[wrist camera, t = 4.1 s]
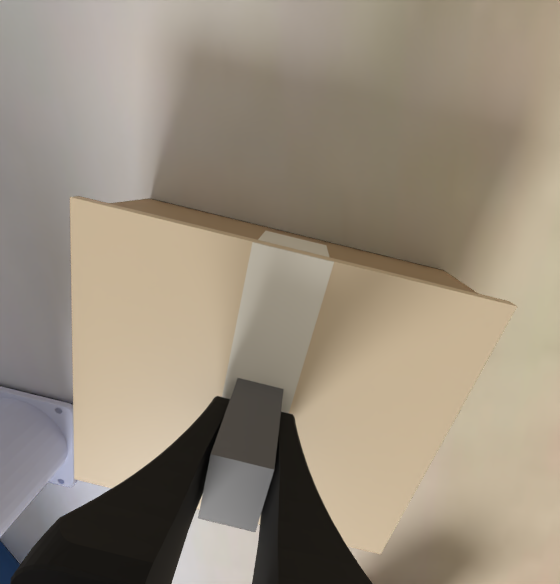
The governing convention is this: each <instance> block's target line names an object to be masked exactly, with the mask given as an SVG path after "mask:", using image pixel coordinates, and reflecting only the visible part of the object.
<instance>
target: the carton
mask: <svg viewBox="0 0 560 584" xmlns="http://www.w3.org/2000/svg"><path fill="white" fill-rule="evenodd" d="M109 204H113V205H117V206H121V207H125V208H129V209H134V210H138V211H142V212H146V213H150V214H154V215H158V216H162V217H166V218H170V219H174V220H179V221H183V222H187V223H191V224H195V225H199V226H203V227H207V228H211V229H215V230H219V231H224V232H228V233H232V234H236V235H240V236H244V237H248V238H252V239H256V240H260V241H264V242H268V243H273V244H277V245H281V246H285V247H289V248H293V249H297V250H301V251H305V252H309V253H313V254H318V255H322V256H326V257H330V258H334V259H338V260H342V261H346V262H350V263H354V264H358V265H363V266H367V267H371V268H375V269H379V270H383V271H387V272H391V273H395V274H399V275H403V276H408V277H412V278H416V279H420V280H424V281H428V282H432V283H436V284H440V285H444V286H448V287H453V288H457V289H461V290H465V291H469V292H473V293H477V292H475V291H474V290H472V289H471V288H469V287H468V286H466V285H465V284H463V283H462V282H460V281H459V280H457V279H456V278H454V277H453V276H451V275H450V274H448V273H447V272H445V271H444V270H440V269H436V268H432V267H428V266H424V265H420V264H416V263H412V262H407V261H403V260H399V259H395V258H391V257H387V256H383V255H379V254H375V253H371V252H367V251H363V250H358V249H354V248H350V247H346V246H342V245H338V244H334V243H330V242H326V241H322V240H318V239H313V238H309V237H305V236H301V235H297V234H293V233H289V232H285V231H281V230H277V229H273V228H268V227H264V226H260V225H256V224H252V223H248V222H244V221H240V220H236V219H232V218H228V217H223V216H219V215H215V214H211V213H207V212H203V211H199V210H195V209H191V208H187V207H183V206H178V205H174V204H170V203H166V202H162V201H158V200H154V199H142V200H134V201H126V202H117V203H109ZM477 294H478V293H477Z"/></svg>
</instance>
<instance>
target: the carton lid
mask: <svg viewBox="0 0 560 584" xmlns="http://www.w3.org/2000/svg"><path fill="white" fill-rule="evenodd" d="M70 238H71V300H72V362H73V423H74V479H76V480H80V481H84V482H88V483H92V484H96V485H100V486H104V487H108V488H113V487H115V486H117V485H118V484H120V483H121V482H123V481H124V480H126V479H127V478H129V477H130V476H132V475H133V474H135V473H136V472H137V471H139V470H140V469H142V468H143V467H144V466H146V465H147V464H148V463H150V462H151V461H152V460H153V459H155V458H156V457H157V456H158V455H160V454H161V453H162V452H163V451H164V450H166V449H167V448H168V447H169V446H170V445H171V444H172V443H173V442H175V441H176V440H177V439H178V438H179V437H180V436H181V435H182V434H183V433H184V432H185V431H186V430H187V429H188V428H189V427H190V426H191V425H192V424H193V423H194V422H195V421H196V420H197V419H198V417H199V416H200V415H201V414H202V413H203V412H204V411H205V409H206V408H207V407H208V406H209V404H210V403H211V402H212V400H213V399H214V397H216V396H220V397H224V398H228V399H230V401H229V404H228V407H227V409H226V412H225V415H224V418H223V421H222V423H221V426H220V429H219V432H218V435H217V438H216V440H215V443H214V446H213V449H212V452H211V455H210V460H209V465H208V470H207V475H206V480H205V485H204V490H203V494H202V497H201V499H200V502H199V504H198V507H197V509H198V510H199V516H198V518H199V519H203V520H207V521H211V522H215V523H219V524H224V525H228V526H232V527H236V528H240V529H244V530H248V531H252V532H255V531H256V528H257V525H258V524H259V525H260V518H261V512H262V508H263V505H264V502H265V499H266V495H267V492H268V489H269V485H270V482H271V479H272V476H273V472H274V468H275V459H276V451H277V442H278V434H279V425H280V416H281V412H285V413H290V414H293V415H294V417H295V422H296V427H297V432H298V436H299V439H300V443H301V447H302V450H303V453H304V456H305V459H306V462H307V465H308V468H309V470H310V473H311V476H312V478H313V481H314V483H315V486H316V488H317V490H318V493H319V495H320V497H321V499H322V501H323V503H324V505H325V507H326V509H327V511H328V513H329V515H330V517H331V519H332V521H333V523H334V525H335V526H336V528H337V530H338V531H339V533H340V535H341V537H342V538H343V540H344V542H345V543H346V545H347V546H349V547H353V548H357V549H361V550H365V551H369V552H373V553H377V554H381V553H382V551H383V550H384V548H385V546H386V544H387V542H388V541H389V539H390V537H391V535H392V533H393V531H394V530H395V528H396V526H397V524H398V522H399V521H400V519H401V517H402V515H403V513H404V511H405V510H406V508H407V506H408V504H409V502H410V501H411V499H412V497H413V495H414V493H415V491H416V490H417V488H418V486H419V484H420V482H421V481H422V479H423V477H424V475H425V473H426V471H427V470H428V468H429V466H430V464H431V462H432V461H433V459H434V457H435V455H436V453H437V451H438V450H439V448H440V446H441V444H442V442H443V441H444V439H445V437H446V435H447V433H448V432H449V430H450V428H451V426H452V424H453V422H454V421H455V419H456V417H457V415H458V413H459V412H460V410H461V408H462V406H463V404H464V402H465V401H466V399H467V397H468V395H469V393H470V392H471V390H472V388H473V386H474V384H475V382H476V381H477V379H478V377H479V375H480V373H481V372H482V370H483V368H484V366H485V364H486V362H487V361H488V359H489V357H490V355H491V353H492V352H493V350H494V348H495V346H496V344H497V342H498V341H499V339H500V337H501V335H502V333H503V332H504V330H505V328H506V326H507V324H508V323H509V321H510V319H511V317H512V315H513V313H514V312H515V310H516V308H517V306H516V305H514V304H513V303H511V302H509V301H506V300H502V299H497V298H493V297H489V296H485V295H481V294H477V293H473V292H469V291H465V290H461V289H457V288H453V287H448V286H444V285H440V284H436V283H432V282H428V281H424V280H420V279H416V278H412V277H408V276H403V275H399V274H395V273H391V272H387V271H383V270H379V269H375V268H371V267H367V266H363V265H358V264H354V263H350V262H346V261H342V260H338V259H334V258H330V257H326V256H322V255H318V254H313V253H309V252H305V251H301V250H297V249H293V248H289V247H285V246H281V245H277V244H273V243H268V242H264V241H260V240H256V239H252V238H248V237H244V236H240V235H236V234H232V233H228V232H224V231H219V230H215V229H211V228H207V227H203V226H199V225H195V224H191V223H187V222H183V221H179V220H174V219H170V218H166V217H162V216H158V215H154V214H150V213H146V212H142V211H138V210H134V209H129V208H125V207H121V206H117V205H113V204H109V203H105V202H101V201H97V200H93V199H89V198H84V197H80V196H76V197H70Z"/></svg>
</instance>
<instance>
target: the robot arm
mask: <svg viewBox="0 0 560 584" xmlns="http://www.w3.org/2000/svg"><path fill="white" fill-rule="evenodd" d="M229 401H230V399H228V398H224V397H220V396H216V397H214V399H213V400H212V402H211V403H210V404H209V406H208V407H207V408H206V409H205V411H204V412H203V413H202V414H201V415H200V416H199V417H198V419H197V420H196V421H195V422H194V423H193V424H192V425H191V426H190V427H189V428H188V429H187V430H186V431H185V432H184V433H183V434H182V435H181V436H180V437H179V438H178V439H177V440H176V441H175V442H173V443H172V444H171V445H170V446H169V447H168V448H167V449H166V450H164V451H163V452H162V453H161V454H160V455H158V456H157V457H156V458H155V459H153V460H152V461H151V462H150V463H148V464H147V465H146V466H144V467H143V468H142V469H140V470H139V471H137V472H136V473H135V474H133V475H132V476H130V477H129V478H127V479H126V480H124V481H123V482H121V483H120V484H118V485H117V486H115V487H113V488H112V489H110V490H109V491H107V492H105V493H104V494H102V495H101V496H99V497H97V498H95V499H94V500H92V501H90V502H88V503H86V504H84V505H83V506H81V507H79V508H77V509H75V510H73V511H71V512H70V513H68V514H66V515H64V516H62V517H60V518H59V519H58V520H57V521H56V522H55V523H54V524H53V525H52V526H51V527H50V528H49V530H48V531H47V532H46V533H45V534H44V535H43V536H42V537H41V539H40V540H39V541H38V542H37V543H36V544H35V546H34V547H33V548H32V549H31V551H30V552H29V554H28V555H27V556H26V558H25V559H24V560H23V562H22V563H21V565H20V566H19V567H18V569H17V570H16V571H15V573H14V574H13V576H12V577H11V582H10V584H171V583H172V580H173V577H174V573H175V570H176V567H177V564H178V561H179V558H180V555H181V551H182V548H183V545H184V542H185V539H186V536H187V533H188V530H189V527H190V524H191V522H192V519H193V516H194V514H195V511H196V509H197V507H198V504H199V502H200V499H201V497H202V494H203V490H204V485H205V480H206V475H207V470H208V465H209V460H210V455H211V452H212V449H213V446H214V443H215V440H216V438H217V435H218V432H219V429H220V426H221V423H222V421H223V418H224V415H225V412H226V409H227V407H228V404H229ZM48 482H49V483H53V484H57V485H62V486H66V487H72V486H74V484H75V483H76V482H77V480H76V479H74V423H73V405H72V404H70V403H66V402H62V401H58V400H54V399H50V398H46V397H42V396H38V395H33V394H29V393H25V392H21V391H17V390H13V389H9V388H5V387H1V386H0V537H1V536H2V535H3V534H4V533H5V532H6V530H7V529H8V528H9V527H10V526H11V525H12V523H13V522H14V521H15V520H16V519H17V518H18V516H19V515H20V514H21V513H22V512H23V511H24V509H25V508H26V507H27V506H28V505H29V504H30V502H31V501H32V500H33V499H34V498H35V497H36V495H37V494H38V493H39V492H40V491H41V490H42V488H43V487H44V486H45V485H46V484H47V483H48ZM252 584H372V582H371V581H370V580H369V578H368V577H367V576H366V574H365V573H364V571H363V570H362V569H361V567H360V566H359V564H358V563H357V561H356V559H355V558H354V556H353V555H352V553H351V552H350V550H349V549H348V547H347V545H346V543H345V542H344V540H343V538H342V537H341V535H340V533H339V531H338V530H337V528H336V526H335V525H334V523H333V521H332V519H331V517H330V515H329V513H328V511H327V509H326V507H325V505H324V503H323V501H322V499H321V497H320V495H319V493H318V490H317V488H316V486H315V483H314V481H313V478H312V476H311V473H310V470H309V468H308V465H307V462H306V459H305V456H304V453H303V450H302V447H301V443H300V439H299V436H298V432H297V427H296V422H295V417H294V415H293V414H290V413H285V412H281V416H280V425H279V434H278V442H277V451H276V459H275V468H274V472H273V476H272V479H271V482H270V485H269V489H268V492H267V495H266V499H265V502H264V505H263V508H262V512H261V518H260V531H259V541H258V549H257V555H256V562H255V568H254V575H253V581H252Z"/></svg>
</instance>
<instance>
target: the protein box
mask: <svg viewBox="0 0 560 584" xmlns="http://www.w3.org/2000/svg"><path fill="white" fill-rule="evenodd" d="M19 566H20V564H19V563H18V562H17V561H16V559H15V558H14V557H13V556H12V554H11V553H10V552H9V551H8V550H7V548H6V547H5V546H4V545H3V543H2V542H1V541H0V584H10V582H11V577H12V576H13V574H14V573H15V571H16V570H17V569H18V567H19Z"/></svg>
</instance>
